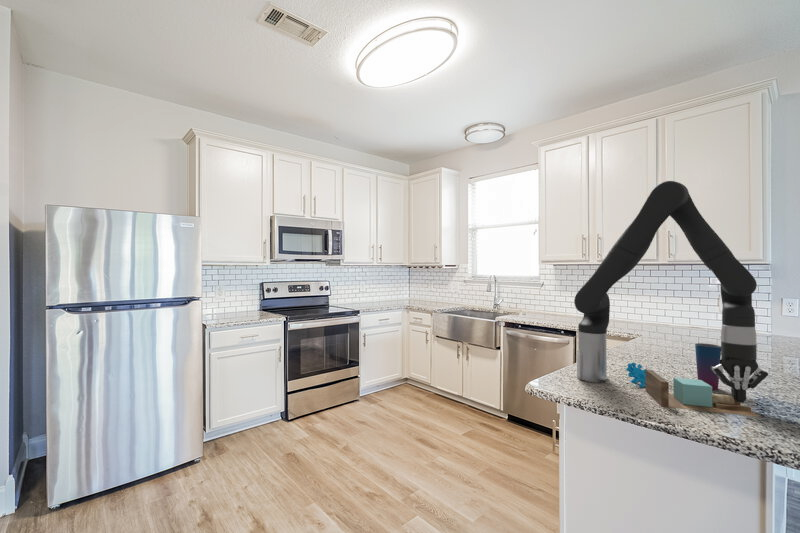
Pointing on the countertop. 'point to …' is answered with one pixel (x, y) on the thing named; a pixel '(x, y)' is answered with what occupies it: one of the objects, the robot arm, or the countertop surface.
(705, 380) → the cup
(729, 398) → the dowel
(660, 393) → the board
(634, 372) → the gear
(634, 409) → the countertop surface
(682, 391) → the block
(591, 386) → the countertop surface
